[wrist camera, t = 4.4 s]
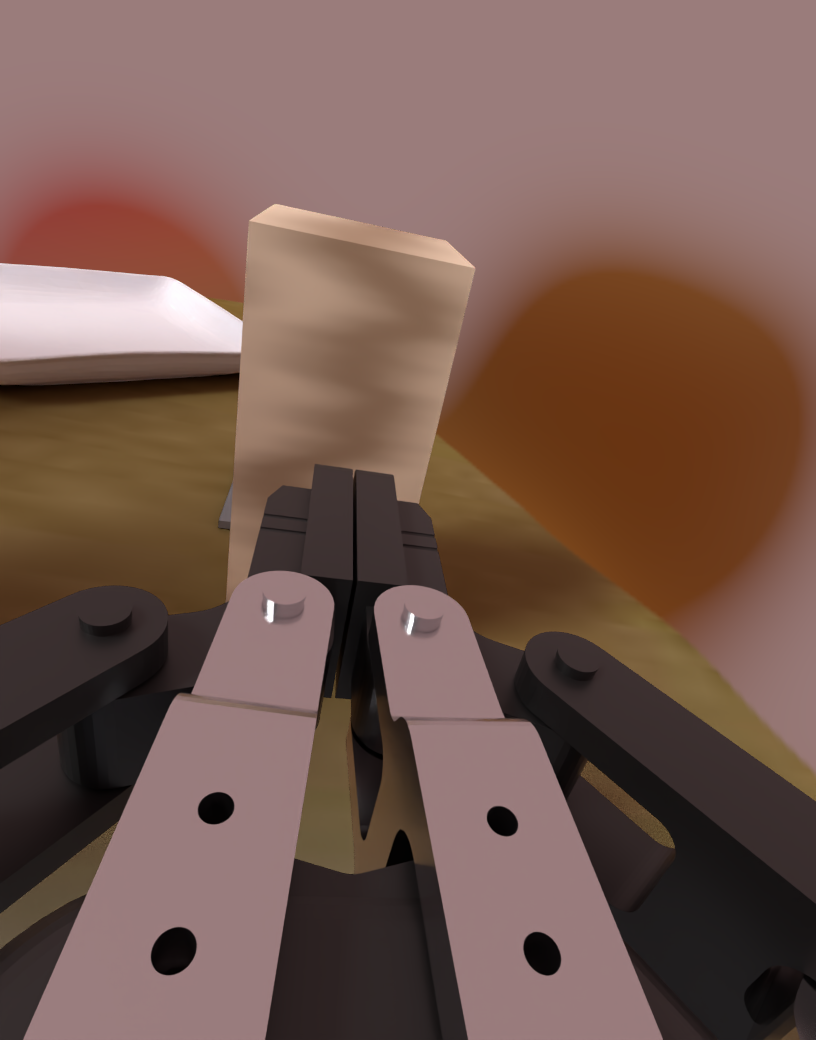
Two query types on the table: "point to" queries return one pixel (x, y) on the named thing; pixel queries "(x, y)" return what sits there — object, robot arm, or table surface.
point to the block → (339, 358)
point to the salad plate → (109, 328)
